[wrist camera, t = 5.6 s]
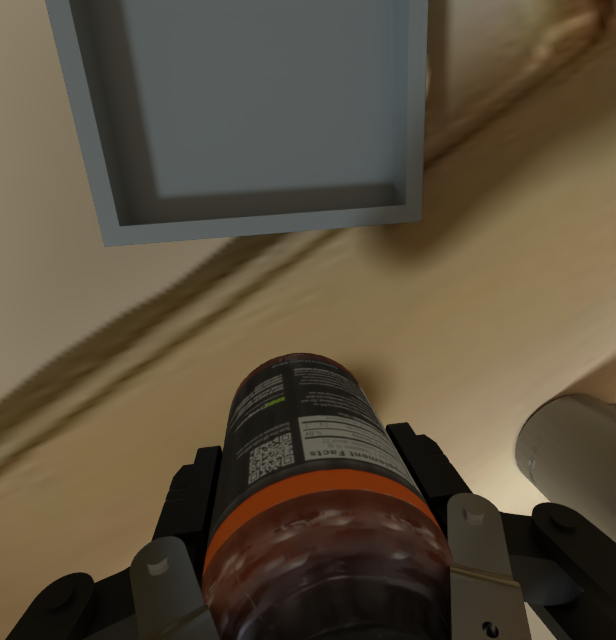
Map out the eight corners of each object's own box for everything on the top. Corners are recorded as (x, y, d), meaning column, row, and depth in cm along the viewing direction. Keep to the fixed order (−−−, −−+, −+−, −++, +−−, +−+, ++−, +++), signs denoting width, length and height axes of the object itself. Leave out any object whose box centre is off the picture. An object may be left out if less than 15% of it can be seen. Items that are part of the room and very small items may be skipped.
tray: (407, -141, 19) (434, -203, 16) (402, 219, 24) (421, 221, 21) (36, -151, 17) (-9, -223, 14) (124, 241, 22) (104, 246, 20)
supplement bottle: (315, 485, 17) (398, 941, 7) (204, 431, 16) (72, 910, 5) (390, 388, 16) (638, 746, 5) (278, 321, 15) (312, 631, 4)
